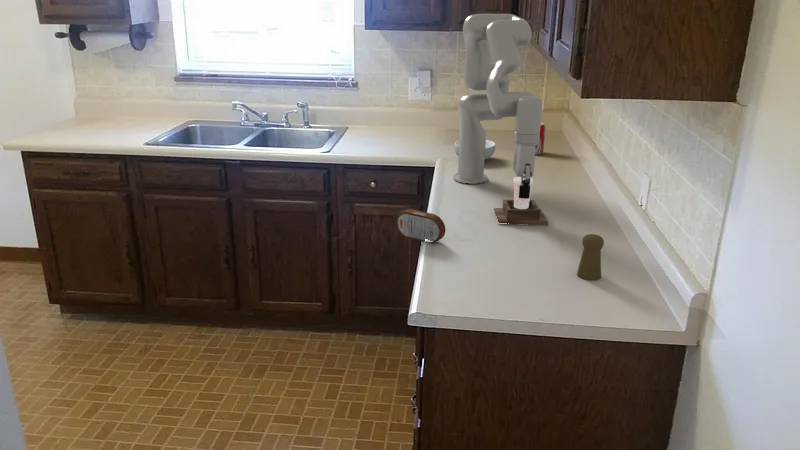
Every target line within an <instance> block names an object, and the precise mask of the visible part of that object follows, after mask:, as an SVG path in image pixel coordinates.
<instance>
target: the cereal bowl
mask: <svg viewBox="0 0 800 450" xmlns="http://www.w3.org/2000/svg"><path fill="white" fill-rule="evenodd" d="M459 140H460V139H459ZM459 140H456V141H455V142H454V153H455V154H456V155H457V156H458V157H459ZM495 150H496V143H495V142H494V141H493V140H488V139H486V143H485V159H484V161H485V160H488V159H490V158H491V157H492V156H494V154H495V152H496V151H495Z"/></svg>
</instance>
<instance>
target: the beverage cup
mask: <svg viewBox="0 0 800 450" xmlns="http://www.w3.org/2000/svg"><path fill="white" fill-rule="evenodd" d="M524 175H525V174H523V176H524ZM524 179H525V178H523V180H524ZM512 180H513V200H514V207H515V208H517V209H527V208H528V207H529V201H530V200H531V193H532V187H533V186H532V185H533V183H534V178H532V177H530V196H529V198H528V199H522V198H519V186H520V185H521V177H517V176H515V177H513V179H512Z"/></svg>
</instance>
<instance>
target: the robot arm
mask: <svg viewBox="0 0 800 450" xmlns="http://www.w3.org/2000/svg"><path fill="white" fill-rule="evenodd" d="M462 26H463V27H462V36H463V41H464V45H465V59H464V60H465V62H464V77H463V78H464V79H463V80H464V86H465V88H466V89H467V90H470V91H486V93H469V94H465V95H464V96H462V97H460V99H459V100H458V104H457V105H458V106H457V111H458V116H459V118H458V119H459V156H458V163H457V164H458V166H457V173H454V175H453V180H454V181H455V182H457V183H460V182H461V184H465V183H469V184H468V185H478V184H477V183H480V184H484V183H486V182H487V181H488V178H489V177H488V176H487V175H486V174H485V173H484V170H485V160H486V159H485V143H486V140H487V133H486V129H485V128H484V127H483V125H482V124H481V122H482V121H496V120H498V121H499V120H502V119H503V118H513V117H515V120H514V121H515V122H514V135H513V136H514V137H513V143H514V144H515V148H514V154H513V162H512V163H513V165H512V170H513V172H514V174H515V175H516V177H521V185H520V186H519V198H522V199H528V198H529V196H530V197H531V194H530V178H532V177H533V176H534V172H535V171H534V170H535V161H536V160H535V159H536V155H535V145H538V144H539V137H540V126H541V122H542V113H543V100H542V98H541V97H538V96H535V94H533V93H532V92H530V91H510V74H512V73H513V72H514V71H516V70H518V68H520V65H521V63H522V59H521V58H522V57H521V55H520V53H519V47H520V48H521V47H522V48H523V47H527V46H528V45H529V44H530V43H531V40H532V29H531V25H530V24H529V23H528V21H527V20H526V19H524V18H522V17H519V16H517V15H515V14H513V13H512V14H511V13H476V14H475V13H474V14H471V15H469V16H467V17H466V18H465V20H464V22H463V25H462ZM491 60H492V62H491ZM484 159H485V160H484ZM523 174H525V175H524V176H523ZM523 178H525V179H524V180H523ZM483 182H484V183H483Z"/></svg>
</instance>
